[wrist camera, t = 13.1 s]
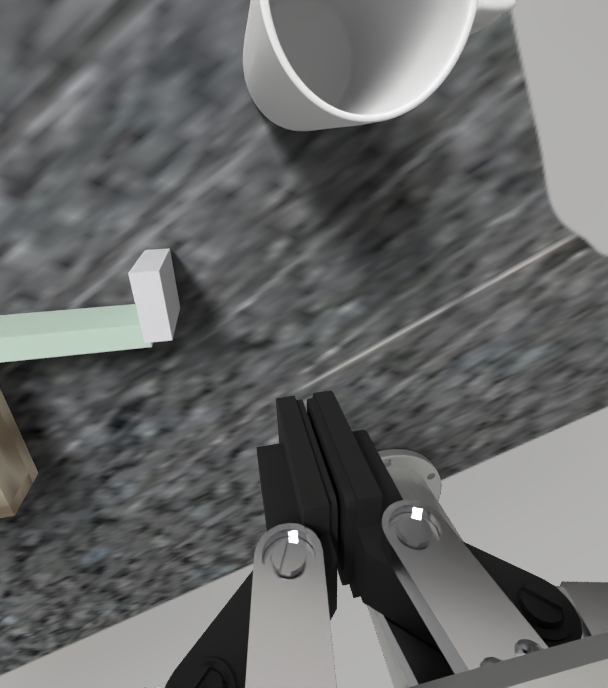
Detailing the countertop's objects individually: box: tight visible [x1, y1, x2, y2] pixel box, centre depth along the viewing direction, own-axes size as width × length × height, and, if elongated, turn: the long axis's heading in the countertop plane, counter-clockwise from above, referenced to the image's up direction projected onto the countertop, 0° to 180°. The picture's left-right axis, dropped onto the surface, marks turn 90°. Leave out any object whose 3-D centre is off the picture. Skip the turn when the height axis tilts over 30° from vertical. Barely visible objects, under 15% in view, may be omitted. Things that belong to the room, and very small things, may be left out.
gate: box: [0, 249, 180, 363], centre depth 21 cm, size 5×18×5 cm, turn 91°
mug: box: [243, 0, 517, 131], centre depth 17 cm, size 10×7×12 cm, turn 96°
